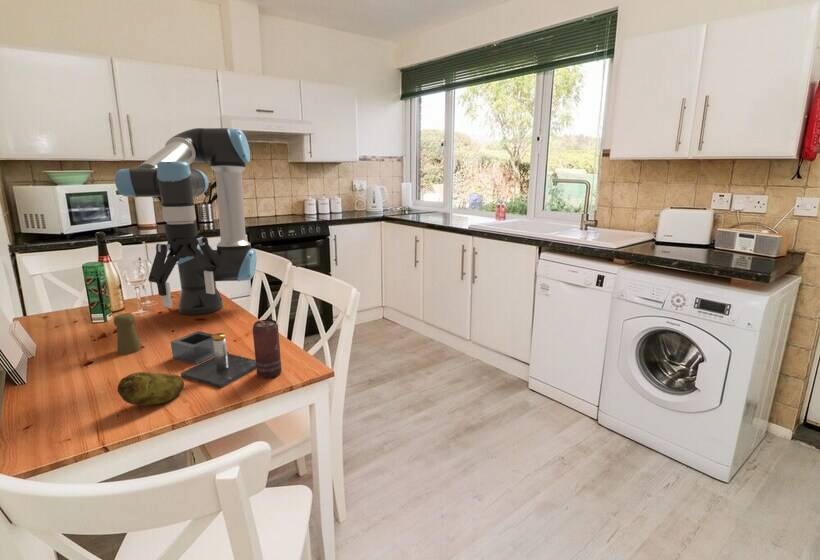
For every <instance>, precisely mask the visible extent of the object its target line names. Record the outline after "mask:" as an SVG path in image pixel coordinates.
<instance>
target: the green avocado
mask: <svg viewBox="0 0 820 560" xmlns="http://www.w3.org/2000/svg"><path fill="white" fill-rule="evenodd" d="M184 387H185V381H184V377H181V375H178V374H173V373H159V372H158V373H156V372H148V371H137V372H132V373H130V374H128V375H126V376H125V377H123V378H121V379H120V381H119V382H118V385H117V393H118V395H119V396H120V397H121V399H122V401H123V402H126V403H129V404H130V405H134V406H135V405H136V406H137V405H149V406H150V405H151V406H156V405H161V404H164V403H167V402H169V401H171V400H173V399H175V398H176V397H177V396H178V395H179V394H181V392H182V391H183V389H185V388H184Z"/></svg>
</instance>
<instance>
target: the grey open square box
mask: <svg viewBox="0 0 820 560" xmlns="http://www.w3.org/2000/svg"><path fill="white" fill-rule="evenodd" d="M214 334H215V333H214ZM214 334H213V333H208V332H203V331H199V330H198V331H195V332H192V333H190V334H187V335H184V336H182V337H179V338H177V339H174V340H172V341H170V347H171V354H172V359H174V360H176V361H181V362H183V363H187V364H193V365H195V366H197V365H199V364H201V363H203V362H205V361H207V360H209V359H211V358H214V357H215V352H214V344H213V335H214Z"/></svg>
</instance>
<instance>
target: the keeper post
mask: <svg viewBox="0 0 820 560" xmlns="http://www.w3.org/2000/svg"><path fill="white" fill-rule="evenodd" d="M213 344H214V352H215V356H213V357H211V358H209V359H207V360H205V361H203V362H200V363H198V364H196V365H195V366H192V367H190V368H188V369H186V370H185V371H182V372H180V377H182V378H183V379H184V378H185V379H188V380H192V381H194V382H199V383H203V384H205V385H209V386H212V387H216V388H219V389H222V388H224V387H226V386H228V385H229V384H232V383H233V382H235V381H237V380H239V379H240V378H243V377H244V376H246V375H247V373H248V374H249V373H251V372H252V371H254V369H255V370H256V359H252V358H249V357H244V356H241V355H240V356H239V355H236V354H231V353H228V347H227V339H226V333H224V332H217V333H214V335H213ZM245 374H246V375H245Z"/></svg>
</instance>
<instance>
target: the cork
mask: <svg viewBox="0 0 820 560" xmlns="http://www.w3.org/2000/svg"><path fill="white" fill-rule="evenodd" d="M135 323H136V317H135V315H134V314H133V313H131V312H129V313H128V312H125V313H121V314H117V315H115V316H114V318H113V324H114V326H115V327H116V333H117V335H116V336H117V337H116V341H117V343H116V344H117V346H116V347H117V354H118V355H131V354H135V353H137V352H139V351H141V350H142V348H143V347H142V345H141V344H142V343H141V342H140V339H139V336H138V332H137V330H136V329H137V328H136V327H135Z"/></svg>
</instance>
